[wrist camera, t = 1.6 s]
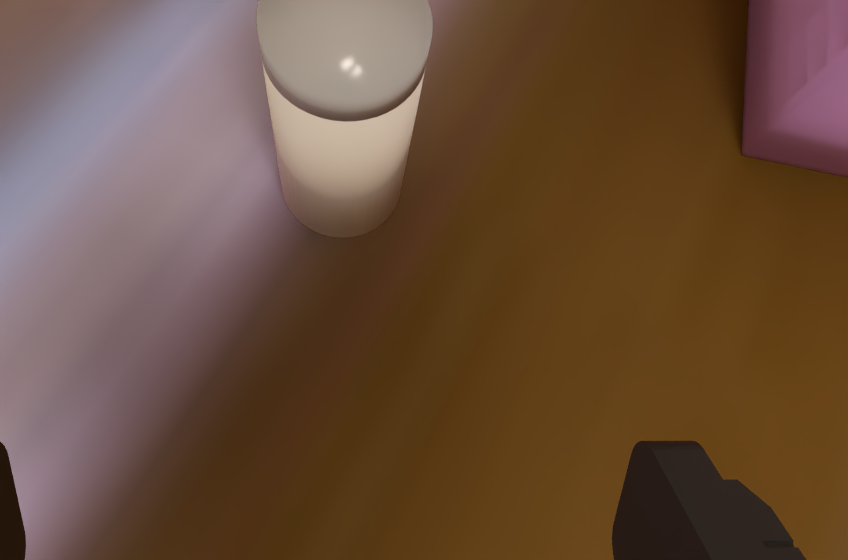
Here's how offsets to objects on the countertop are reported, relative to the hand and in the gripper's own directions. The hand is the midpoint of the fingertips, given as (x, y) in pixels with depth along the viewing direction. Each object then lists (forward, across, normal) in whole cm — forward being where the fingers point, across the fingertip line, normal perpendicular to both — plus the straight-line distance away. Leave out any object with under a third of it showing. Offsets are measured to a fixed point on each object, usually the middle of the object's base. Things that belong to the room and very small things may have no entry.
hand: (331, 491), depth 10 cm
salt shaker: (+20, 0, +3) cm, 20 cm away
